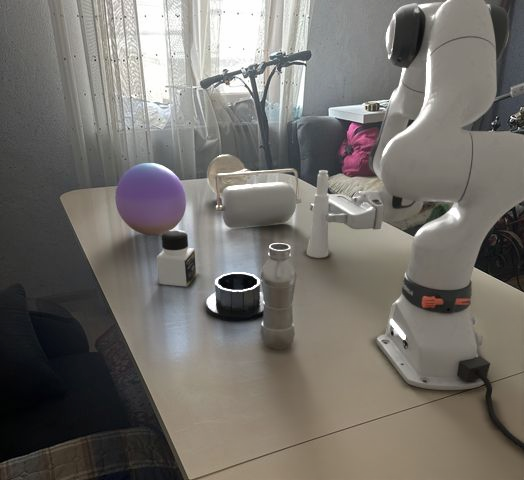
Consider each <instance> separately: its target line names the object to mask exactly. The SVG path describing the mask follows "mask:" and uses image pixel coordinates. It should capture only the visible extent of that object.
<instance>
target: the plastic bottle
mask: <svg viewBox="0 0 524 480" xmlns="http://www.w3.org/2000/svg"><path fill="white" fill-rule="evenodd" d="M267 255H268V258H269V259H268V260H267V261H266V262H265V264H264V265H263V267H262V268H261V271H260V283H261V288H262V293H263V300H264V311H263V316H262V321H261V323H260V330H259V331H260V332H259V334H260V338H261V341H262V343H263V344H264V346H266V347H268V348H271V349H274V350H275V349H276V350H277V349H278V350H281V349H285V348H288V347H289V346H291V344H292V343H293V342H294V340H295V339H294V338H295V334H296V333H295V325H294V317H293V304H294V303H293V302H294V293H295V290H296V289H295V288H296V283H297V276H298V275H297V270H296V268H295V267H294V265H293V263H292V262H291V261H290V258H291V246H290V245H289V244H287V243H282V242H276V243H275V242H274V243H271V244H270V245H269V248H268V254H267Z"/></svg>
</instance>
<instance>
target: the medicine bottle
mask: <svg viewBox="0 0 524 480" xmlns="http://www.w3.org/2000/svg"><path fill="white" fill-rule="evenodd" d="M160 238H161V239H160V240H161V248H162V251H161V252H160V253H159V254H158V255H157V256H156V267H157V275H158V283H159V285H164V286H165V285H166V286H175V287H186V288H187V287H188V286H189V285H190V284H191V282H192V281H193V280H194V278H195V277H196V276H197V267H196V253H195V248H193V247H192V248H191V247H189V237H188V233H187V232H186V231H184V230H181V229H172V230H169V231H166V232H164V233H163V234H161V235H160Z"/></svg>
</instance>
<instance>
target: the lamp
mask: <svg viewBox="0 0 524 480" xmlns="http://www.w3.org/2000/svg"><path fill="white" fill-rule="evenodd" d="M283 173H294V182H295V183H294V184H295V187H293V186H292V185H291V184H289V183H287V182H284V181H280V182H279V181H275V182H263V183H262V182H261V183H251V184H247V181H248V180H250V179H251V178H252V177H253V176H259V175H270V174H283ZM206 181H207V184H208V186H209V188H210V190H211V191H212V192H213V193H214V194H215V195H216V204H217V205H216V206H215V212H217V213H218V212H222V219H223V223H224V225H225V226H226V227H228V228H229V229H242V228H252V227H260V226H270V225H278V224H279V225H280V224H284V223H286V222H288V221H289V220H290V219H291V218H292V217H293V215H294V213H295V212H296V208H297V205H298V204H302V198H300V193H299V174H298V170H297V169H295V168H283V169H282V168H281V169H272V170H256V171H255V170H254V171H251V170H250V169H249V168H246V166H245V164H244V163H243V161H241V159H240V158H239V157H237V156H235V155H233V154H221V155H219V156H217V157H215V158H214V159H213V160H211V162H210V163H209V165H208V167H207V169H206Z"/></svg>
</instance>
